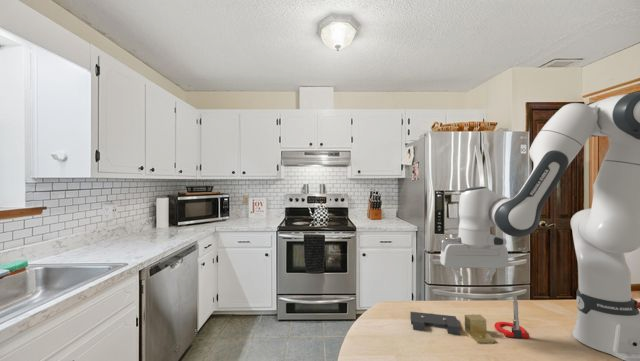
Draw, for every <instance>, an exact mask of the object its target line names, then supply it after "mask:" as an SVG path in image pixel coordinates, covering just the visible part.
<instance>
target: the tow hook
mask: <svg viewBox="0 0 640 361" xmlns="http://www.w3.org/2000/svg"><path fill="white" fill-rule="evenodd" d="M517 296H518V295H517V294H513V302H512V303H513V304H512V305H513V306H512V307H513V321H512V322H513V323H512V322H508V321H497V322H495V323H494V328H495V330H497V331H498V332H500V333H502V334H503V335H504V337H506V338H515V339H530V338H531V337H530V334H529V332H527V330H526V329H525V328H524V327H522V326H521V325H520V320H519V301H518V297H517ZM504 327H510V328H511V331H510V330H507V329H505V328H504Z"/></svg>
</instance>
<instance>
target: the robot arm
mask: <svg viewBox="0 0 640 361" xmlns="http://www.w3.org/2000/svg"><path fill="white" fill-rule="evenodd" d="M591 137H607V138H608V142H609V147H608V150H607V152H606V153H605V156H604V158H603V160H602V163H601V165H600V168H599V170H598V173H597V176H596V178H595V180H594V182H593V186H592V191H593V196H592V201H591V202H592V203H591V208H590V207H589V208H586V209H581V210H579V211H577V212H575V213H574V214H573V215H572V217H571V219H570V228H571V230H572V238H573V245H574V250H575V256H576V260H577V271H578V272H577V274H578V275H577V276H578V277H577V278H578V282H577V283H578V288H577V289H576V308H577V315H576V319H575V320H576V321H575V325H574V328H573V330H572V332H571V333H572V336H573V337H574V339H576V340H577V341H579V342H580V343H581V344H583V345H585V346H587V347H589V348H592V349H595V350H597V351H599V352H602V353H606V354H608V355H612V356H614V357H616V358H617V359H620V360H622V361H640V301H639V302H638V301H637V300H636V299H634V298H632V288H631V287H632V285H631V284H632V282H631V281H632V279H631V278H632V277H631V276H632V274H631V269H630V268H629V266H628V263H627V261H626V257H625V254H627V253H631V252H635V251H636V250H638V249H639V248H640V91H636V92H630V93H623V94H619V95H618V94H617V95H614V96H609V97H606V98H603V99H600V100H598V101H592V102H590V103H587V104H585V103H580V102H571V103H567V104H565V105H563V106H562V107H561V108H559V109H558V110H557V111H556V112H555V113H554V114H553V115H552V116H551V117H550V118H549V119H548V120H547V121H546V123H545V124H544V126H543V127H542V128H541V129H540V130H539V132H538V133H537V135H536V136H535V138H534V140H533V141H532V143H531V144H530V145H531V146H530V148H529V150H528V155H529V157H530V160H531V161H532V162H533V164H532V165H533V167H532V168H533V169H532V172H531V173H530V174H529V176H528V177H527V179H526V181H525V182H524V184H523V185H522V187H521V188H520V189H519V191H518V193H517V194H516V195H515V196H514V197H512V198H510V197H507V196H503V195H501V194H500V193H496V192H495V191H492V189H490V188H488V187H487V186H473V187H468V188H465V189H463V190H462V191H461V192H460V195H459V202H458V216H459V224H458V237H445V238H444V239H442V240H441V243H440V248H441V251H440V256H439V257H440V258H439V262H440V264H441V265H442V266H443V267H445V268H446V269H447V268H448V269H450V268H451V270H452V273H453V274H454V280H455V281H456V282H457V283H458V282H463V276H462V275H461V274H459V271H460V269H466V268H467V269H472V268H473V269H477V268H478V269H487V270H488V272H487V273H486V274H483V277H484V281H485V282H487V283H488V282H493V276H494V274H495V273H497V272H496V271H497V270H496V269H499V268H500V269H506V268H507V266H508V265H509V252H508V248H507V246H506V245H507V239H506V238H505V237H502V236H499V235H496V234H494V233H491V228H492V227H497V228H498V229H499V230H500V231H502V232H503V233H504V234H506V235H508V236H510V237H515V238H521V237H525V236H528V235H531V234H532V233H533V232H535V231H536V229H537V228H538V226H539V225H540V221H541V215H542V211H543V207H544V205H545V204H546V202H547V200H548V199H549V198H550V196H551V195H552V192H553V191H554V190H555V189H556V187H557V185H558V183H559V182H560V181H561V179H562V177H563V176H564V174H565V172H566V170H567V169H568V167H569V165H570V164H571V163H572V162H573V160H574V159H575V158H576V156H577V155H579V154H578V153H580V151H581V150H582V148H583V147H584V145H586V143H587V141H588V139H590V138H591Z"/></svg>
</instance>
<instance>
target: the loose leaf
mask: <svg viewBox="0 0 640 361" xmlns="http://www.w3.org/2000/svg"><path fill="white" fill-rule="evenodd" d="M464 331H465V332H466V333H467V334H468V335H469V336H470V337H471V338H472V339H473V340H474V341H475V342H476V344H495V338H494V337H492V336H491V335H490V334H489V333H488V332H487V318H485V317H483V315H481V314H464Z"/></svg>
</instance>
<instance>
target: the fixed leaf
mask: <svg viewBox="0 0 640 361" xmlns="http://www.w3.org/2000/svg"><path fill="white" fill-rule="evenodd" d="M410 325H412V330H413V331H420V332H421V331H422V332H425V331H426V330H425V327H433V328H440V329H441V328H443V329H446V331H447V334H448V335H453V336H454V335H457V336H461V326H460V324H459V321H458V318H457V317H456V315H449V314H448V315H447V314H435V313H429V312H428V313H427V312H417V311H410Z"/></svg>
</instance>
